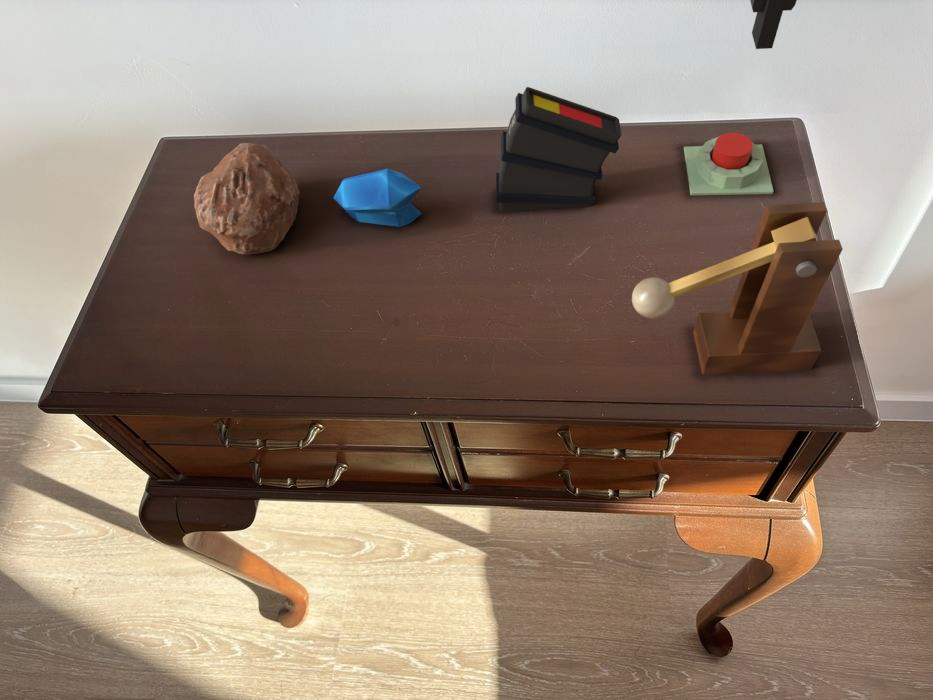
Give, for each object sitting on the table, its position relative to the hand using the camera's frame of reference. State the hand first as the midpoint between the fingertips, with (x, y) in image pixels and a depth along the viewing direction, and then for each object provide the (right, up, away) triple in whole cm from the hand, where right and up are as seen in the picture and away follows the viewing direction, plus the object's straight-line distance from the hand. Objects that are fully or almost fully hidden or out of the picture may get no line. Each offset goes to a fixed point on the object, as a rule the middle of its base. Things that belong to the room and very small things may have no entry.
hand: (761, 40), depth 68 cm
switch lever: (-7, -25, -9) cm, 27 cm away
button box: (+2, -10, +14) cm, 17 cm away
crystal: (-38, -15, +15) cm, 44 cm away
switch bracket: (-1, -31, 0) cm, 31 cm away
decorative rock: (-54, -15, +17) cm, 58 cm away
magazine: (-18, -13, +14) cm, 27 cm away
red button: (+1, -8, +12) cm, 15 cm away
